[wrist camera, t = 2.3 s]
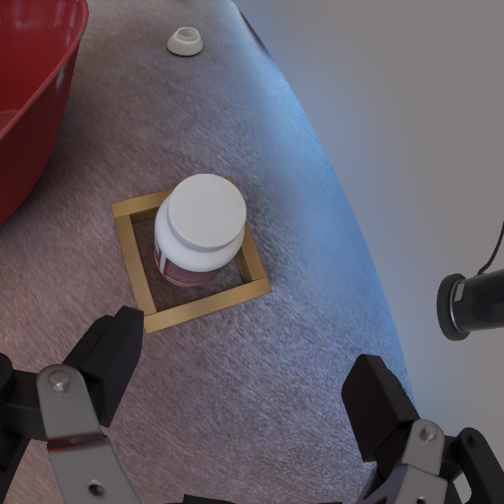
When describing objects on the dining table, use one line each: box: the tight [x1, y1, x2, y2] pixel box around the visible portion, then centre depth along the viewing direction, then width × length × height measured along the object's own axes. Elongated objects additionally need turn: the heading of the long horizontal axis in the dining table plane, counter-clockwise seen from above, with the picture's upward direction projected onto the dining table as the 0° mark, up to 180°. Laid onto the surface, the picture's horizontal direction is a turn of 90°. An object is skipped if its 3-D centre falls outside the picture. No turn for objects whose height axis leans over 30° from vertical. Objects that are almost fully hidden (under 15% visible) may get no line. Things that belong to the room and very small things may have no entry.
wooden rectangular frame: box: [111, 177, 272, 334], centre depth 26 cm, size 11×11×2 cm
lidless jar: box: [167, 27, 203, 56], centre depth 32 cm, size 5×3×5 cm
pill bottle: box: [154, 174, 246, 287], centre depth 22 cm, size 6×6×11 cm
